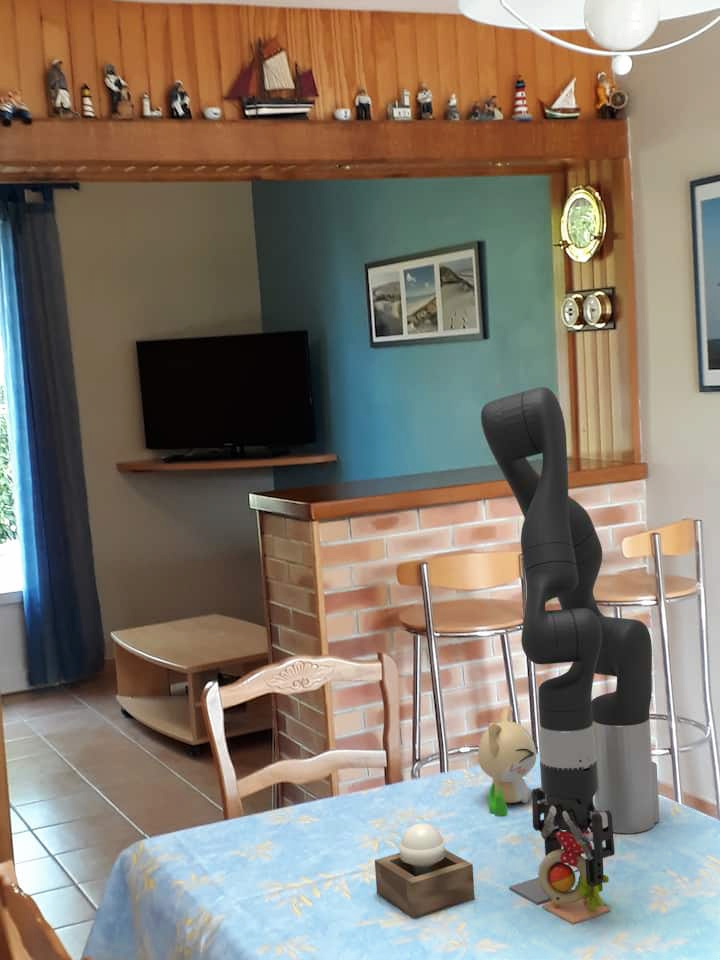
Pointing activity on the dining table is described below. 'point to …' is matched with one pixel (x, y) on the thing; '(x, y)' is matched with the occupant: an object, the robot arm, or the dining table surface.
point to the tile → (575, 911)
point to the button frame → (424, 884)
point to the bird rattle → (568, 874)
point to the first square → (531, 891)
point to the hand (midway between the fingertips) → (574, 874)
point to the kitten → (506, 762)
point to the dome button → (422, 848)
